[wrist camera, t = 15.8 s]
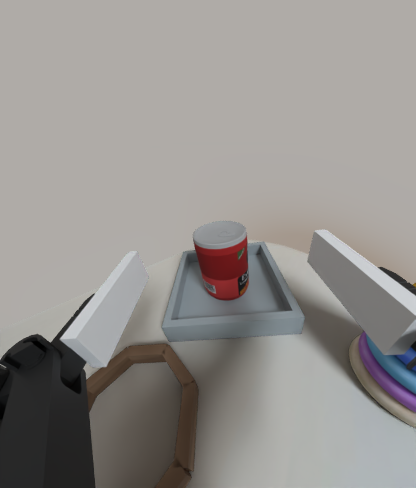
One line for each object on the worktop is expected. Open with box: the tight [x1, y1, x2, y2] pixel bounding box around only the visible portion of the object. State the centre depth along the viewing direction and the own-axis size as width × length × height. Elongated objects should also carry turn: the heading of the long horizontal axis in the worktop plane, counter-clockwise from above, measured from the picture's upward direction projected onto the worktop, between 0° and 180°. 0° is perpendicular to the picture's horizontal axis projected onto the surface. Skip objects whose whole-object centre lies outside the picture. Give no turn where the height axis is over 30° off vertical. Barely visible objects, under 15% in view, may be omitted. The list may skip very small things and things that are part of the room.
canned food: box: [193, 221, 249, 301], centre depth 26 cm, size 8×8×11 cm
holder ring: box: [86, 344, 198, 488], centre depth 16 cm, size 13×13×2 cm
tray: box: [162, 242, 305, 342], centre depth 29 cm, size 18×18×4 cm
